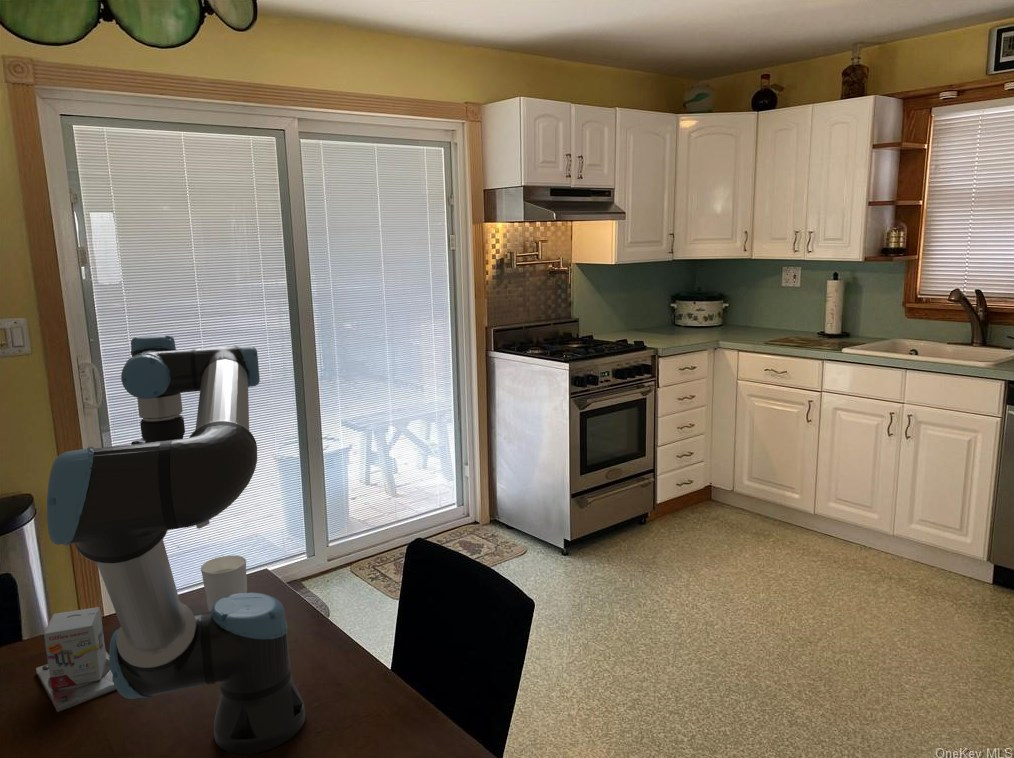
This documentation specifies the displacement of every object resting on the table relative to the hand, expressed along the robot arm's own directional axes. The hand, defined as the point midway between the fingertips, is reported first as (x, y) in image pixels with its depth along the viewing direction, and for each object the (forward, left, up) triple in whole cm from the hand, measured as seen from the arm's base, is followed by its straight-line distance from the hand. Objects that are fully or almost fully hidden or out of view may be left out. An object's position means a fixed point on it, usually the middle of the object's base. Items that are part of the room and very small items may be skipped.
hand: (174, 523), depth 143 cm
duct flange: (+12, +17, -31) cm, 37 cm away
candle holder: (+18, -15, -31) cm, 39 cm away
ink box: (+12, +17, -29) cm, 36 cm away
